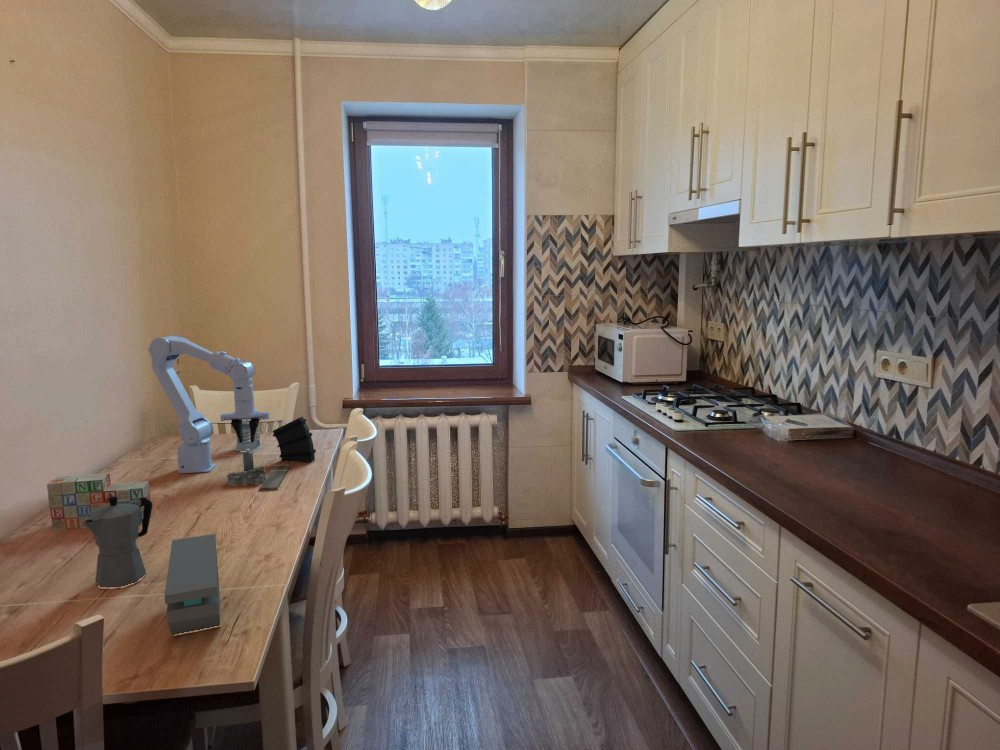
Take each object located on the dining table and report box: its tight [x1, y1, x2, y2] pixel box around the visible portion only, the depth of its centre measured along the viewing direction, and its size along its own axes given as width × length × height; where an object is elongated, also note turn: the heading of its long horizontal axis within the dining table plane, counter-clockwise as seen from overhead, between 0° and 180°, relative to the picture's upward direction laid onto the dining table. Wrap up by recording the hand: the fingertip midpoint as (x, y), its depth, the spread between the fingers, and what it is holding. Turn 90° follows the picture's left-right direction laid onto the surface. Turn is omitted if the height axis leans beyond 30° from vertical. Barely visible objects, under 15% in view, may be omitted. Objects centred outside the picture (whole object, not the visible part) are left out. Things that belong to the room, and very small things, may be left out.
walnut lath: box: [259, 463, 291, 492], centre depth 207 cm, size 5×24×1 cm, turn 9°
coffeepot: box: [83, 496, 153, 587], centre depth 139 cm, size 15×9×18 cm, turn 159°
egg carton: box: [226, 466, 266, 487], centre depth 203 cm, size 11×8×4 cm
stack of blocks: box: [46, 472, 153, 531], centre depth 171 cm, size 21×6×12 cm, turn 103°
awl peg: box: [242, 449, 255, 472], centre depth 215 cm, size 3×3×7 cm
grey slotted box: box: [164, 533, 221, 636], centre depth 123 cm, size 25×8×11 cm, turn 23°
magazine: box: [272, 416, 317, 463], centre depth 225 cm, size 4×13×15 cm, turn 83°
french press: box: [233, 407, 267, 452], centre depth 240 cm, size 10×12×25 cm
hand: (247, 441), depth 214 cm, fingers open, 3 cm apart
